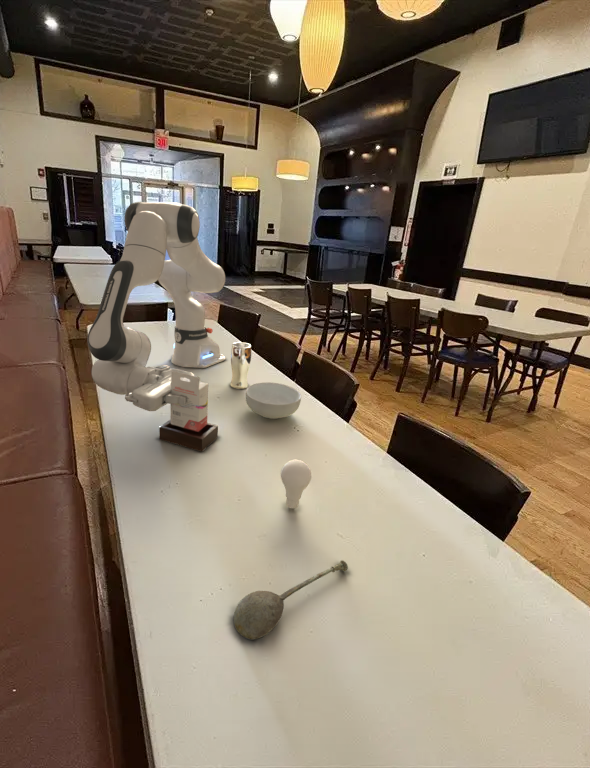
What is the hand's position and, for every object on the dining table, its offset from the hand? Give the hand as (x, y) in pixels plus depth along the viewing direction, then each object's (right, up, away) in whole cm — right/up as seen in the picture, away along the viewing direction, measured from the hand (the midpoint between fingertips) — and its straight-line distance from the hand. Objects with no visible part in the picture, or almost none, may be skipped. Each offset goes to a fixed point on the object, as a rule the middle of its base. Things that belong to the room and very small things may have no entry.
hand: (192, 396), depth 104 cm
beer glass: (+10, +2, +42) cm, 43 cm away
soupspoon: (+22, -31, -39) cm, 54 cm away
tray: (-2, -11, +5) cm, 12 cm away
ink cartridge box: (-2, -8, +3) cm, 9 cm away
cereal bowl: (+21, -6, +23) cm, 31 cm away
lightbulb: (+23, -23, -18) cm, 37 cm away
